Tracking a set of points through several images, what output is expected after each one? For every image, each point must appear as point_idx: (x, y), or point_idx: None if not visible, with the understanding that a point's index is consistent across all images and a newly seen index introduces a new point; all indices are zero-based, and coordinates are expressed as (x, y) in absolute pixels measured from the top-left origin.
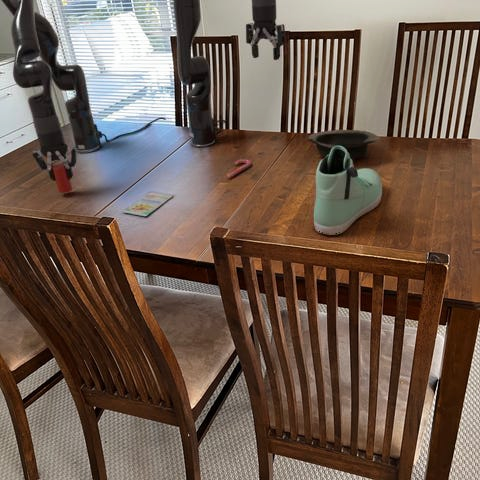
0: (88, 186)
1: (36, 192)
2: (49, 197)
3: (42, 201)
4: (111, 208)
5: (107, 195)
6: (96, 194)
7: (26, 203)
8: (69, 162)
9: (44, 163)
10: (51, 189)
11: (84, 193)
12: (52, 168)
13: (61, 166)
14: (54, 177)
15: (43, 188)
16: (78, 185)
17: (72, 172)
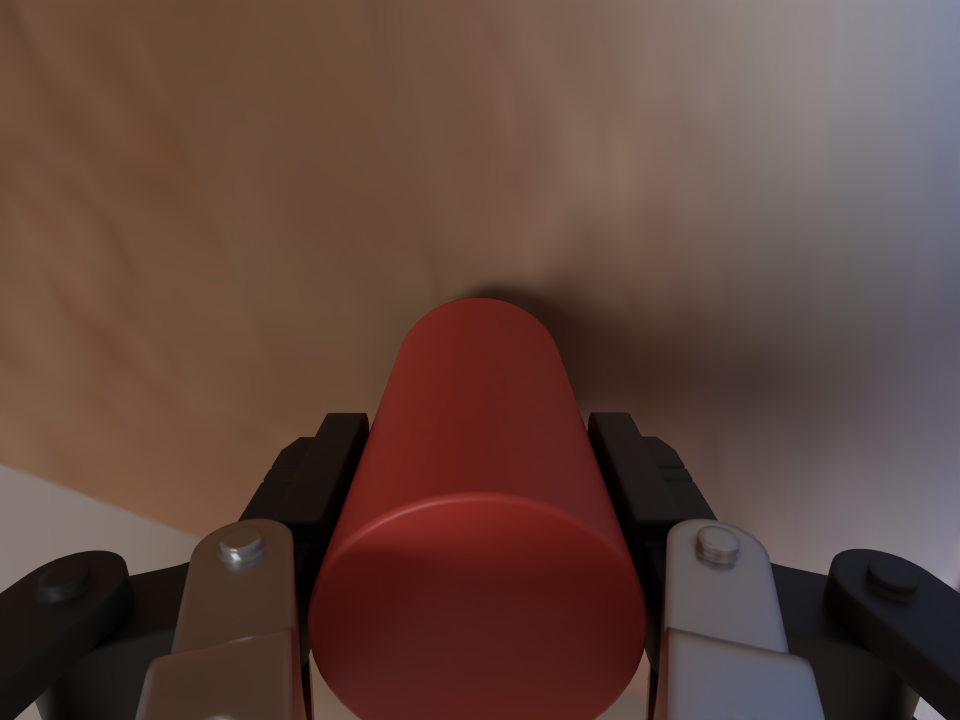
0: (720, 170)
1: (47, 184)
2: (285, 373)
3: (240, 450)
4: (918, 705)
5: (922, 474)
6: (810, 424)
7: (77, 456)
8: (769, 619)
9: (55, 665)
10: (223, 135)
11: (678, 367)
12: (345, 698)
13: (551, 682)
14: None
15: (86, 64)
16: (581, 94)
17: (686, 481)
